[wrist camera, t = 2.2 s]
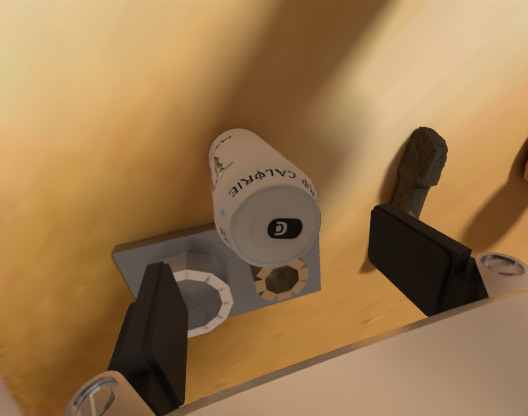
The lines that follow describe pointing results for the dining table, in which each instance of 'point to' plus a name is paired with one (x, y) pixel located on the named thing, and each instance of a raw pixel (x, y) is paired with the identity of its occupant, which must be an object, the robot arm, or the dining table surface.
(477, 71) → the dining table surface
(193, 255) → the manifold board
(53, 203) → the dining table surface
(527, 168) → the stone cup
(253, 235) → the energy drink can
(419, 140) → the hand tool
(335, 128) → the dining table surface
